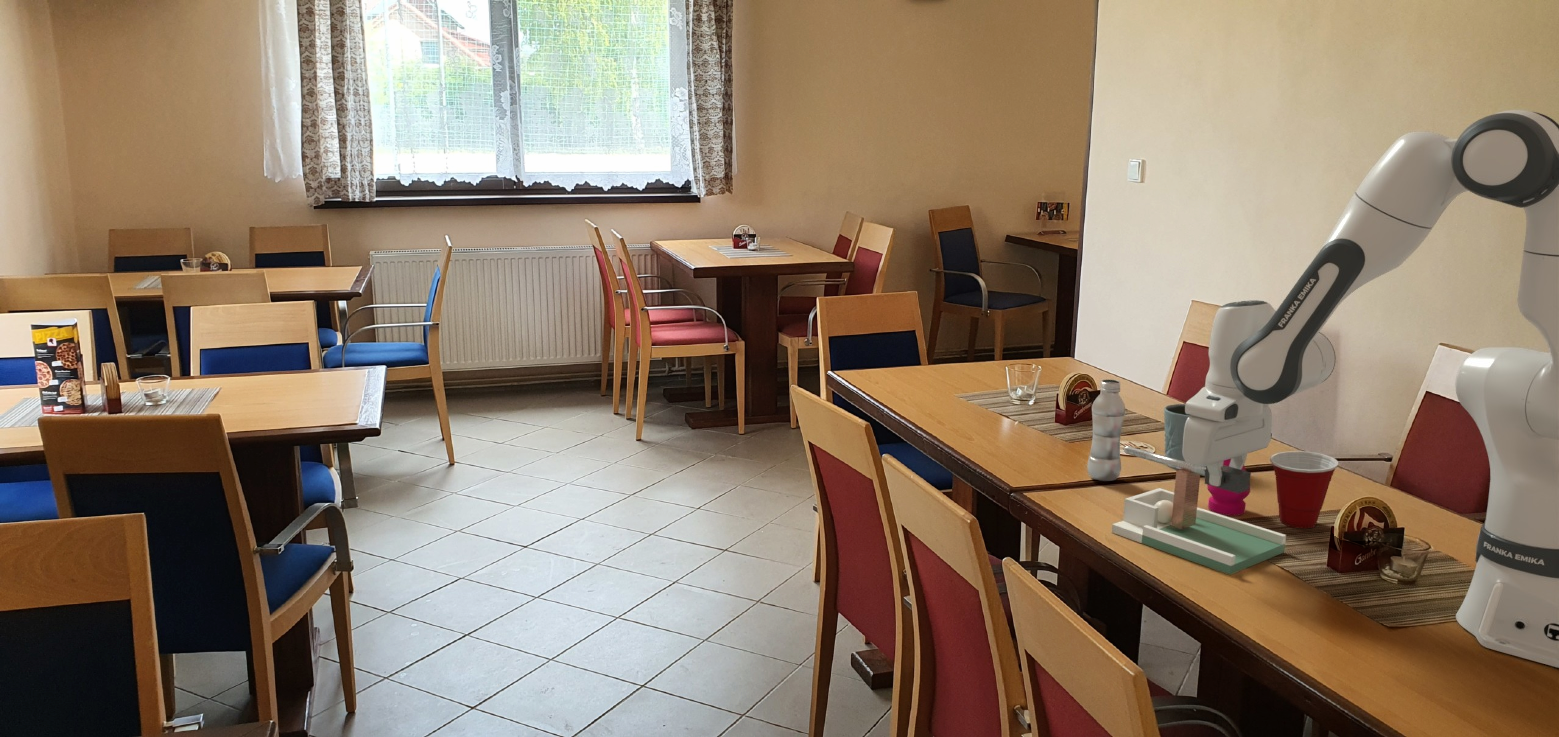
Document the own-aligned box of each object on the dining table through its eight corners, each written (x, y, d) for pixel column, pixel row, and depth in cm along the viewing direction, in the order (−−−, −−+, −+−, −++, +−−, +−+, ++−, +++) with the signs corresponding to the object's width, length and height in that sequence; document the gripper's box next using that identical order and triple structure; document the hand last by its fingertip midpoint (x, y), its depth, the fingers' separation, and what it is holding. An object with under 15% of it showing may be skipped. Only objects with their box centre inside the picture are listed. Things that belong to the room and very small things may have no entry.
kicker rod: (1244, 540, 175) (1252, 471, 172) (1231, 545, 172) (1238, 476, 170) (1127, 502, 193) (1132, 439, 190) (1113, 506, 190) (1118, 442, 188)
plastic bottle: (1124, 477, 213) (1132, 380, 209) (1114, 486, 208) (1122, 386, 203) (1091, 472, 217) (1099, 376, 212) (1081, 480, 211) (1089, 382, 207)
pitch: (1284, 552, 176) (1287, 520, 175) (1229, 574, 167) (1233, 541, 165) (1166, 513, 193) (1169, 484, 192) (1111, 532, 184) (1114, 502, 183)
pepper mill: (1251, 518, 191) (1263, 410, 187) (1209, 514, 193) (1220, 407, 189) (1243, 504, 198) (1254, 400, 194) (1201, 501, 200) (1212, 398, 195)
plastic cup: (1250, 512, 194) (1258, 449, 191) (1307, 511, 195) (1315, 448, 193) (1284, 534, 184) (1292, 468, 181) (1343, 533, 185) (1352, 466, 182)
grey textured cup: (1219, 473, 217) (1225, 416, 214) (1169, 472, 217) (1174, 415, 214) (1200, 458, 227) (1206, 403, 224) (1152, 457, 227) (1157, 403, 224)
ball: (1161, 496, 187) (1161, 518, 187) (1147, 500, 184) (1147, 522, 185) (1182, 500, 183) (1181, 522, 184) (1168, 504, 181) (1168, 527, 182)
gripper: (1250, 387, 180) (1241, 466, 183) (1178, 404, 168) (1170, 488, 171) (1286, 395, 175) (1276, 475, 178) (1215, 413, 163) (1206, 499, 166)
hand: (1224, 482), depth 174 cm, fingers open, 3 cm apart
